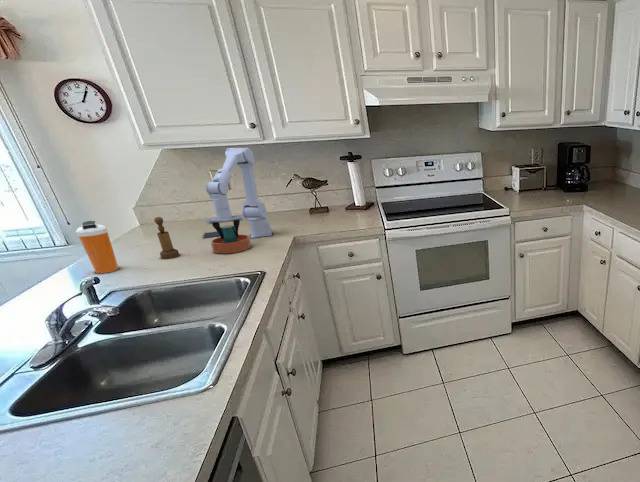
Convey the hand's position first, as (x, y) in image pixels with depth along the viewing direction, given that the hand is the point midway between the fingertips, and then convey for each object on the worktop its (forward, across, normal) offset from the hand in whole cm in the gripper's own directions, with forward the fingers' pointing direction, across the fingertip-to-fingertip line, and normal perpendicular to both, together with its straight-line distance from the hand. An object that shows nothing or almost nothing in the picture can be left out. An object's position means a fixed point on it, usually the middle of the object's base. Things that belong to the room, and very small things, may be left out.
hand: (229, 237), depth 191 cm
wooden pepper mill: (+6, -24, +2) cm, 25 cm away
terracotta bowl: (+6, 0, 0) cm, 6 cm away
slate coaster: (+6, -8, +34) cm, 35 cm away
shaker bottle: (+6, -44, -6) cm, 45 cm away
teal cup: (+3, 0, 0) cm, 3 cm away
